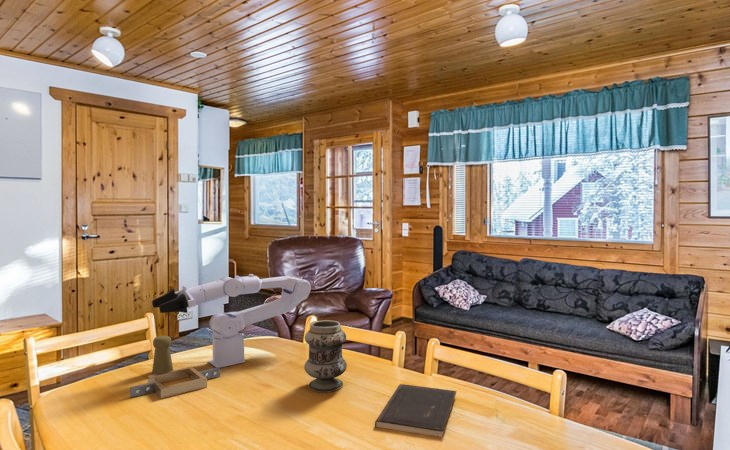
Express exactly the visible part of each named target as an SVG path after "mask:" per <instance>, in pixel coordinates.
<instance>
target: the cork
mask: <svg viewBox="0 0 730 450" xmlns="http://www.w3.org/2000/svg"><path fill="white" fill-rule="evenodd" d="M152 345H153V348H154V355H153V362H152V369H151V370H152V371H151V375H154V374H159V373H164V372H168V371H173V370H174V366H173V360H172V354H171V348H170V346H171V345H172V338H171V337H170V336H168V335H158V336H156V337H155V338H154V339H153V341H152Z"/></svg>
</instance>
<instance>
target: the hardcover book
mask: <svg viewBox="0 0 730 450" xmlns="http://www.w3.org/2000/svg"><path fill="white" fill-rule="evenodd" d="M456 394H457V391H456V390H451V389H443V388H435V387H429V386H428V387H427V386H420V385H419V386H418V385H413V384H412V385H411V384H405V383H404V384H403V383H400V384H398V386H397V387H396V388H395V391H394V392H393V393H392V395H391V397H390V398H389V400H388V401H387V403H386V404H385V406H384V408H383V409H382V411H381V413H380V414H379V415H378V417H377V418H376V420H375V422H374V427H375V428H382V429H389V430H395V431H402V432H408V433H413V434H420V435H426V436H431V435H434V436H433V437H437V436H442V437H443V436H444V432H445V429H446V425H447V423H448V420H449V416H450V414H449V413H451V411H450V410H452V408H451V407H453V403H454V401H455V397H456Z"/></svg>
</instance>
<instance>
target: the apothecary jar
mask: <svg viewBox="0 0 730 450" xmlns="http://www.w3.org/2000/svg"><path fill="white" fill-rule="evenodd" d="M346 339H347V333H346V332H345V330H343V329H342V327H341V323H340V322H339V321H338V320H337V321H336V320H327V319H325V320H324V319H323V320H317V321H313V322H311V323H310V327H309V329H308V331H306V333H305V334H304V341H305V343H306V344H307V345H308V359H307V360H306V361H305V362H304V365H303V366H304V367H303V368H304V371H305V373H306V374H307V375H308V376H310V377H311V378H314V379H312V380H311V381H310V382H309V383H308V388H309V390H311V391H312V392H316V393H331V392H335V391H338V390H340V389H342V388H343V387H344V382H343V381H342V380H341V379H339V378H338V377H340V376H341V375H343V374H344V373H345V372H346V370H347V367H348V366H347V365H348V364H347V361H346V359H345V358H343V344H344V343H345V342H346Z"/></svg>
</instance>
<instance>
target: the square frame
mask: <svg viewBox="0 0 730 450" xmlns="http://www.w3.org/2000/svg"><path fill="white" fill-rule="evenodd" d="M219 377H221V368H219V367H217V368H216V367H214V368H208V369H204V370H199V371H198V370H197V369H196V368H194V367H193V366H187V367H183V368H179V369H173V371H168V372H164V373H159V374H154V375H153V374H151V375H147V383H142V384H137V385H132V386H130V387H129V397H130V398H136V397H139V396H143V395H148V394H152V393H153V394H154V393H155V394H156V395H157V396H158V397H159V398H160V399H161V400H163V399H165V398H169V397H173V396H178V395H182V394H185V393H190V392H195V391H198V390H202V389H205V388H208V380H211V379H214V378H215V379H216V378H219ZM185 378H190V379H191V380H187V381H184V382H179V383H175V384H170V385H167V386H164V385H163V383H168V382H173V381H175V380H180V379H185Z"/></svg>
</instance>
